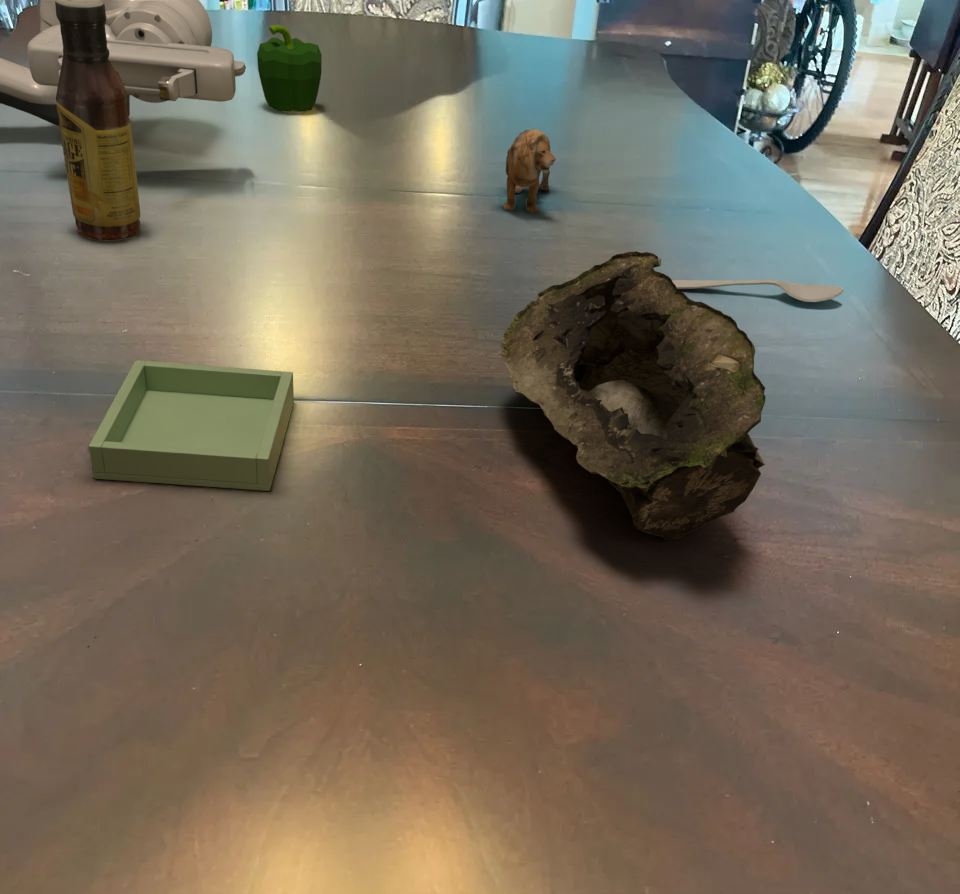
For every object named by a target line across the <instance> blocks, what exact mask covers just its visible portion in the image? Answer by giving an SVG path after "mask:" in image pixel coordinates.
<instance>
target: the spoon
mask: <svg viewBox="0 0 960 894" xmlns="http://www.w3.org/2000/svg"><path fill="white" fill-rule="evenodd" d="M671 280H672V282H673V283H674V284H675V285H676V287H677V289H679V290H690V289H691V290H693V289H695V290H696V289H707V288H717V287H718V288H719V287H729V286H756V285H759V286H760V285H770V286H772V285H773V286H776V287H778V288H780V289H781V290H782V291H783V292H784V293H786V294H787V295H788V296H790V297H792V298H794V299H796V300H798V301H801V302H803V303H818V302H824V301H828V300H832V299H836V298H838V297H839V296H841V295H842V294H843V293H844V289H843V288H842V287H840V286H837V285H831V284H805V283H796V282H789V281H782V280H778V279H747V280H746V279H717V280H716V279H696V280H695V279H671Z"/></svg>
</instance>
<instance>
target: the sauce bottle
mask: <svg viewBox="0 0 960 894" xmlns="http://www.w3.org/2000/svg"><path fill="white" fill-rule="evenodd" d="M55 6H56V16H57V18H58V20H59V22H60V29H61V35H62V42H63V59H62V65H61V71H60V76H59V82H58V88H57V94H56V105H57V113H58V119H59V125H60V127H59V130H60V138H61V146H62V152H63V157H64V159H63V160H64V166H65V172H66V178H67V185H68V191H69V196H70V197H69V198H70V202H71V204H70V205H71V209H72V215H73V217H74V221H75V226H76V229H77V231H78V232H79V233H80V234H82V235H83V236H85V237H87V238H88V239H90V240H93V241H108V242H109V241H121V240H128V239H131V238H133V237H136V236H137V235H138V233H139V232H140V229H141V220H140V218H141V207H140V195H139V187H138V178H137V177H138V176H137V170H136V169H137V168H136V159H135V150H134V149H135V148H134V141H133V131H132V130H133V129H132V121H131V118H130V116H129V115H128V106H127V94H126V90H125V86H124V83H123V82H122V80H121V78H120V76H119V73H118V72H116V70H115V69H114V67H113V66H112V64H111V63H110V61H109V59H108V57H109V50H108V48H107V40H106V31H105V24H106V11H105V4H104V2H103V1H102V0H55Z"/></svg>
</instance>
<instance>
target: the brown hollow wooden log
mask: <svg viewBox="0 0 960 894" xmlns="http://www.w3.org/2000/svg"><path fill="white" fill-rule="evenodd" d="M661 265H662V259H661V258H660V257H659V256H657V254H655V253H652V252H648V251H645V252H639V251H637V250H636V251H627V252H624V253H617V254H615V255H612V256H611V257H610V259H608V260H607V261H604V262H602V263H600V264H595V265H593V266H592V267H590V268H589V269H588V270H585V271H582V273H579V275H577V276H576V277H575V278H573V279H569V280H567V281H565V282H563V283H561V284H554V285H551V286H549V287H547V288H546V289H543V290H541V291H540V292H539V293H537V295H536V299H535V300H531V301H530V302H529V303H528V304H527V305H526V306H525V307H524V309H522V310H520V311H519V312H517V313H516V314H515V316H514V317H513V319H512V320H511V323H510V325H509V327H508V328H506V330H505V332H504V333H503V336H502V339H501V343H500V349H501V352H500V355H501V357H502V361H503V363H505V365H506V367H507V369H508V373H509V378H510V379H511V380H512V382H513V383H512V387H513V390H514V392H515V394H516V395H519V394H520V395H521V394H522V395H523V396H525V397H526V398H527V399H528V400H529V401H530V402H532V403H534V404H537V405H539V406H540V408H541V409H542V411H543V414H544V416H545V418H547V419H548V420H549V421H550V423H551V424H552V426H553V429H554V431H555V432H556V433H558V435H560V436H561V437H562V438H564V439H565V440H567V441H568V440H569V441H570V442H571V444H572V445H574V446H576V447H577V449H578V450H577V452H576V455H575V458H576V462H577V463H578V464H579V465H580V466H581V467H582V468H583V469H585V470H586V471H588V472H589V473H591V474H592V475H600V476H601V477H603V478H605V479H606V480H608V483H609V484H610V485H611V486H612V487H613V488H615V489H616V490H617V491H618V492H619V493H620V494H621V496H622V499H623V500H624V502H625V505H626V507H627V509H628V510H629V513H630V515H631V518H632V521H633V524H634V527H636V530H638V531H641V532H642V533H646V534H649V535H653V536H656V537H662V538H663V540H664V541H672V540H677V539H680V538H682V537H684V536H687V535H688V534H690V533H692V532H694V531H696V530H698V529H700V528H702V527H704V526H706V525H708V524H709V523H711V522H713V521H716V520H717V519H719V518H721V517H723V516H726V515H729V514H732V513H734V512H735V510H737V508H739V507H740V506H741V505H742V504H743V503H744V502H746V501H747V499H748V497H749V496H750V495H751V494H752V491H753V490H754V488H755V487H756V485H757V483H758V481H759V480H760V478H761V476H762V472H761V470H760V468H762V467H764V466H765V465H766V464H765V462H764V460H763V458H762V456H761V455H760V452H759V451H758V450H759V448H758V447H756V445H755V443H754V442H753V439H752V438H751V436H750V434H749V433H750V431H751V430H753V429H754V428H755V427H756V426H758V425H759V424H760V423H761V421H762V412H763V409H764V406H765V404H766V395H765V390H766V387H765V385H764V384H763V383H762V381H761V380H760V378H759V377H758V376H757V375H756V374H755V371H754V369H755V354H756V348H755V347H756V346H755V345H754V343H753V342H752V341H751V340H750V338H749V337H748V335H747V333H746V332H745V331H744V330H743V329H742V330H741V329H740V328H739V327H738V324H737V322H736V320H735V319H734V318H733V317H731V316H730V315H727V314H725V313H723V312H722V311H721V310H719V309H716V308H714V307H712V306H710V305H708V304H706V303H705V302H703V301H696V300H693V299H690V298H689V296H687V295H686V294H685V292H683V291H682V289H677V287H676V285H675V284H674V283H673V282H672V280H673V279H672V278H671V277H670V276H669V275H667V274H665V273H663V272H661V271H656V270H655V268H659V267H661Z"/></svg>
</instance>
